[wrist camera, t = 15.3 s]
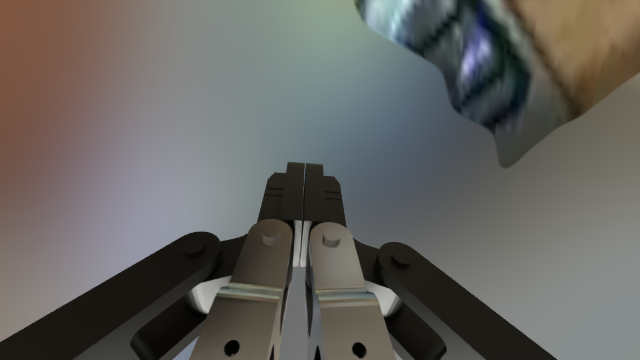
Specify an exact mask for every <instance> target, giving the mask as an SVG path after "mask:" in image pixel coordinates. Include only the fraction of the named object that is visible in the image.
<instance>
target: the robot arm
mask: <svg viewBox="0 0 640 360" xmlns="http://www.w3.org/2000/svg"><path fill="white" fill-rule="evenodd" d="M304 164H305V163H295V162H288V164H287V171H286V173H274V174H273V175H272V176H271V177H270V178H269V179H268V181H267V185H266V189H265V193H264V197H263V201H262V205H261V209H260V213H259V217H258V221H257V223H256V224H254V225H253V226H252V227H251V228H250V230H249V232H248V234H246V235H244V236H241V237H239V238H235V239H230V240H225V241H221V242H220V240H219V239H218V237H217V236H215V235H214V234H212V233H209V232H193V233H189V234H187V235H184V236H183V237H181V238H179V239H177V240H175V241H174V242H172V243H171V244H169V245H167V246H165V247H164V248H162V249H160V250H158V251H156V252H155V253H153V254H151V255H150V256H148V257H146V258H144V259H143V260H141V261H140V262H137V263H136V264H134V265H132V266H131V267H129V268H127V269H125V270H124V271H122V272H120V273H118V274H117V275H115V276H113V277H112V278H110V279H108V280H106V281H105V282H103V283H101V284H100V285H98V286H96V287H94V288H93V289H91V290H89V291H88V292H86V293H84V294H83V295H81V296H79V297H77V298H75V299H74V300H72V301H70V302H69V303H67V304H65V305H63V306H62V307H60V308H58V309H56V310H55V311H53V312H51V313H49V314H48V315H46V316H44V317H43V318H41V319H39V320H37V321H36V322H34V323H32V324H31V325H29V326H27V327H25V328H24V329H22V330H20V331H18V332H17V333H15V334H13V335H12V336H10V337H8V338H7V339H5V340H3V341H1V342H0V360H172V359H173V358H175V357H176V356H177V355H178V354H179V353H180V352H181V351H182V350H183V349H184V348H186V347H187V346H188V345H189V344H190V343H191V342H192V341H193V340H195V339H196V338H197V337H198V336H199V337H198V339H197V341H196V344H195V347H194V349H193V351H192V354H191V357H190V358H189V360H278V359H279V352H280V343H281V336H282V330H283V324H284V318H285V312H286V306H287V300H288V294H289V287H290V282H291V280H292V271H293V266H295V267H298V262H299V250H300V237H301V254H300V267H306V275H305V286H304V289H305V309H306V327H307V360H396V358H395V354H394V351H393V349H394V350H395V352H396V353H397V354H398V355H399V356H400V357H401V358H402V359H403V360H557V359H556V358H554V357H553V356H552V355H551V354H549V353H548V352H547V351H545V350H544V349H543V348H541V347H540V346H539V345H538V344H536V343H535V342H534V341H532V340H531V339H530V338H528V337H527V336H526V335H525V334H523V333H522V332H521V331H519V330H518V329H517V328H515V327H514V326H513V325H511V324H510V323H509V322H508V321H506V320H505V319H503V318H502V317H501V316H500V315H499V314H497V313H496V312H494V311H493V310H492V309H491V308H489V307H488V306H487V305H486V304H484V303H483V302H482V301H480V300H479V299H478V298H476V297H475V296H474V295H472V294H471V293H470V292H469V291H467V290H466V289H465V288H463V287H462V286H461V285H459V284H458V283H457V282H456V281H454V280H453V279H452V278H450V277H449V276H448V275H446V274H445V273H444V272H443V271H441V270H440V269H439V268H437V267H436V266H435V265H433V264H432V263H431V262H429V261H428V260H427V259H426V258H424V257H423V256H422V255H420V254H419V253H418V252H417V251H415V250H414V249H412V248H411V247H409V246H407V245H405V244H402V243H398V242H389V243H386V244H384V245H382V246H381V247H380V249H377V248H374V247H370V246H367V245H365V244H362V243H360V242H358V241H357V240H355V239H354V238H353V237H352V234H351V233H350V232H349V230H348V229H347V227H346V221H345V215H344V208H343V201H342V195H341V189H340V184H339V182H338V181H337V180H336V179H335V177H331V176H323V165H322V164H310V163H306V169H305V183H304V166H305V165H304ZM303 187H304V194H303ZM302 208H303V211H302ZM301 226H302V233H301Z"/></svg>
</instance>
